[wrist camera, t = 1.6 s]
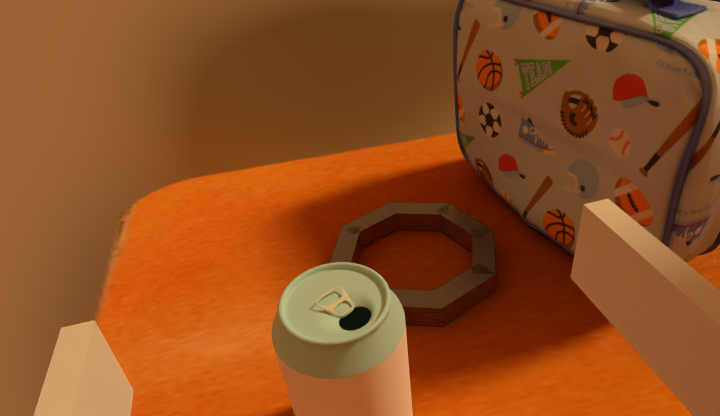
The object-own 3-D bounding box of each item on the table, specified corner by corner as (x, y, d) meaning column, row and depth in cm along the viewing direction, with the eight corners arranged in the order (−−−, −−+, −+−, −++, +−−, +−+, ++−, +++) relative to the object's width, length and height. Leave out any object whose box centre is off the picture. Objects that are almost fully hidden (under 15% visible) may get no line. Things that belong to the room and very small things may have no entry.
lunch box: (754, 279, 40) (891, -25, 28) (660, 334, 37) (766, 18, 24) (515, 144, 61) (531, -64, 48) (441, 171, 58) (437, -44, 45)
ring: (491, 221, 49) (492, 204, 48) (496, 330, 39) (497, 311, 37) (352, 217, 52) (350, 201, 51) (320, 319, 41) (316, 301, 40)
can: (418, 389, 35) (409, 255, 28) (408, 495, 30) (394, 359, 23) (318, 381, 37) (287, 250, 30) (290, 480, 31) (244, 348, 24)
